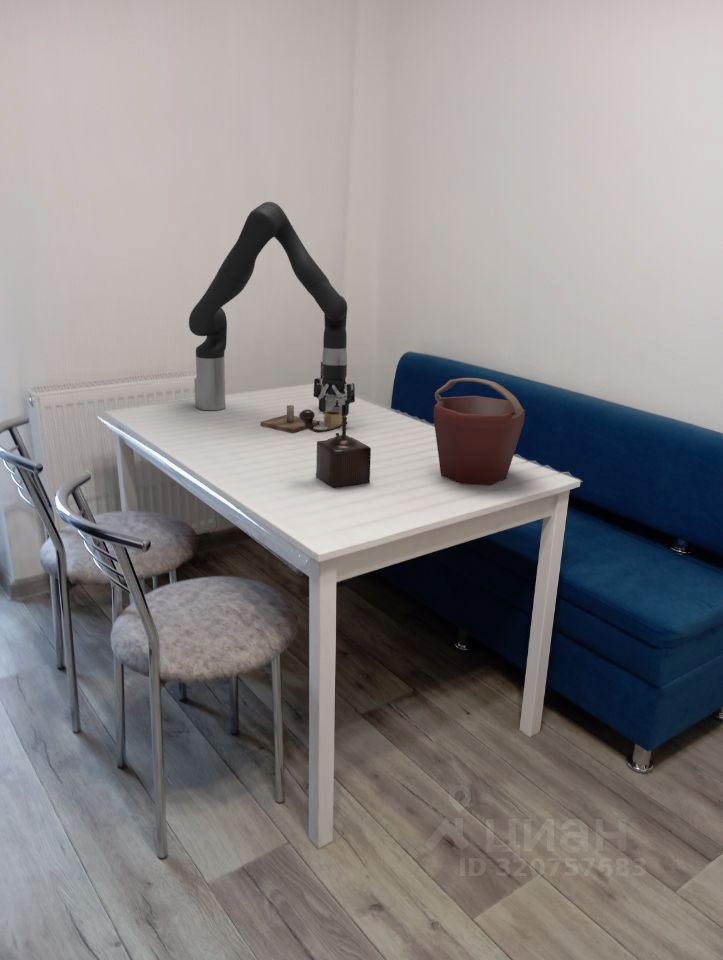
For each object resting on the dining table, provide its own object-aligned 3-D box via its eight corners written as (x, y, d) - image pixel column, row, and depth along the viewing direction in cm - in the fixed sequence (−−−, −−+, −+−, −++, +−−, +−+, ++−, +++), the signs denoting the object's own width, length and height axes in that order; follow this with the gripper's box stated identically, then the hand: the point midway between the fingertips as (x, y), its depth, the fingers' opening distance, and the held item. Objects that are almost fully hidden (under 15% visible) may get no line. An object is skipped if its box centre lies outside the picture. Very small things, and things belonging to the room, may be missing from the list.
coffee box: (319, 407, 273) (320, 360, 268) (337, 407, 274) (338, 360, 269) (324, 414, 265) (325, 366, 259) (343, 413, 266) (344, 365, 261)
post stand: (260, 425, 248) (260, 406, 246) (287, 417, 258) (287, 399, 256) (293, 433, 241) (293, 413, 239) (319, 424, 251) (319, 405, 249)
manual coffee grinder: (349, 470, 209) (351, 403, 203) (370, 483, 200) (373, 413, 194) (295, 478, 201) (296, 408, 196) (315, 491, 192) (316, 419, 187)
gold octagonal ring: (320, 425, 251) (320, 413, 249) (331, 422, 255) (331, 409, 254) (335, 428, 248) (335, 416, 246) (345, 425, 252) (346, 412, 251)
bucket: (411, 468, 212) (416, 375, 204) (472, 456, 225) (479, 368, 217) (475, 495, 194) (484, 394, 186) (538, 480, 206) (548, 385, 198)
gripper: (308, 360, 246) (308, 412, 251) (346, 366, 238) (344, 419, 243) (323, 357, 251) (322, 408, 257) (360, 363, 244) (359, 415, 249)
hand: (333, 413), depth 250 cm, fingers open, 8 cm apart
